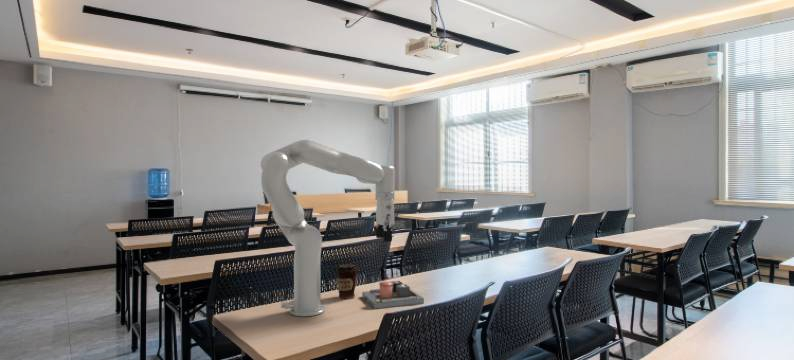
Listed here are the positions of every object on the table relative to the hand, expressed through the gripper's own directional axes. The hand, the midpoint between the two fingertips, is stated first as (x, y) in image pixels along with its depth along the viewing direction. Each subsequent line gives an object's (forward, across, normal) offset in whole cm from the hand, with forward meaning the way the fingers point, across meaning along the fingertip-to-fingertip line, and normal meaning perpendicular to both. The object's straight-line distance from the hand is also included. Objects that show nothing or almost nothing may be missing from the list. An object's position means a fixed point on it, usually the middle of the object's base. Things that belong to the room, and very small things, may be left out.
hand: (383, 239), depth 178 cm
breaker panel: (+24, -1, -4) cm, 24 cm away
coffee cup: (+25, +9, +12) cm, 29 cm away
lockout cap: (+22, -5, 0) cm, 23 cm away
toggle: (+22, -5, -7) cm, 23 cm away
